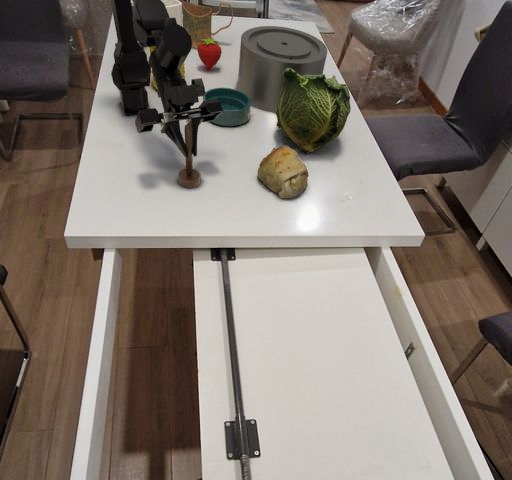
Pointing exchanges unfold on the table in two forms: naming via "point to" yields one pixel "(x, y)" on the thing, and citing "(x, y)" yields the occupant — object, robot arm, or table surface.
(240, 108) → the bowl
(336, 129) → the vegetable
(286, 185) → the pastry
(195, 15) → the mug
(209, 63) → the strawberry
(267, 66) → the container
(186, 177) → the rounded top peg stand
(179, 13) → the cup
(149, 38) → the robot arm
